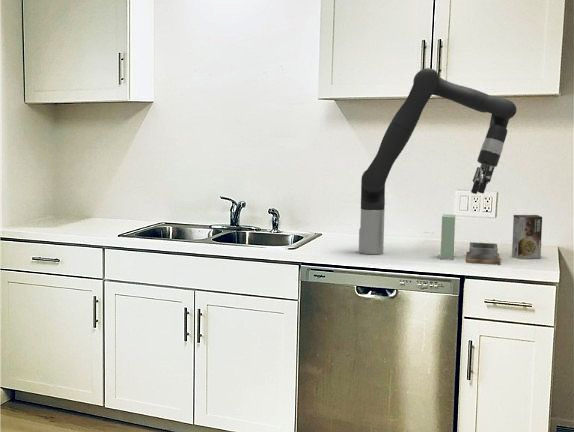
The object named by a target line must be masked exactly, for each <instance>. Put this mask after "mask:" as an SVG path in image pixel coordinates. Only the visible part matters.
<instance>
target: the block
mask: <svg viewBox="0 0 574 432" xmlns="http://www.w3.org/2000/svg"><path fill="white" fill-rule="evenodd" d="M455 230H456V214H450V213H449V214H447V213H445V214H444V213H443V214H442V216H441V231H440V233H441V236H440V237H441V238H440V260H445V259H449V260H448V261H453V260H454V257H453V256H454V254H455Z"/></svg>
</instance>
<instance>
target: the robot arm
mask: <svg viewBox="0 0 574 432" xmlns="http://www.w3.org/2000/svg"><path fill="white" fill-rule="evenodd" d="M432 96H436V97H440V98H444V99H447V100H449V101H451V102H454V103H457V104H459V105H461V106H464V107H467V108H469V109H472V110H474V111H476V112H479V113H483V114H484V113H488V114H491V115H490V116H491V117H490V122H489V127H488V130H487V133H486V135H485V138H484V140H483V143H482V145H481V148H480V152H479V155H478V157H477V163H479V164H480V167H479V166H477V167H476V170H475V173H474V176H473V178H472V182H473V186H472V188H471V189H470V190H471V191H470V193H471V194H474V195H476V194H479V193H480V194H484V193H485V191H486V189H487V185H488V184H489V183H490V182H491V180H492V176H493V173H494V172H495V168H497V167H498V163H499V161H500V159H501V155H502V152H503V149H504V144H505V141H506V138H507V135H508V129H507V128H508V124H509V121H510V119H512V118H514V116H516V113H517V111H518V110H517V106H516V104H515V103H514V102H513V101H511V100H510V99H506V98H503V97H498V96H493V95H489V94H487V93H485V92H483V91H479V90H477V89H474V88H471V87H469V86H468V87H467V86H463V85H460V84H457V83H454V82H451V81H448V80H446V79H445V78H444V79H443V78H442V77H440V75H439V73H438V71H436V70H435V69H433V68H431V67H430V68H429V67H428V68H427V67H425V68H423V69H421V70H419V71H418V72H416V74H415V75H414V78H413V85H412V86H411V88H410V91H409V93H408V96H407V98H406V99H405V101H404V102H403V103H402V105H401V106H400V108H399V109H398V110H397V111H396V113H395V114H394V116H393V117H392V119H391V121H390V123H389V125H388V127H387V129H386V131H385V132H384V135H383V137H382V140H381V143H380V145H379V147H378V151H377V153H376V155H375V157H374V158H373V160H372V161H371V163H370V164H369V166H368V167H367V169H366V170H365V171H364V172H363V173H362V176H361V179H360V180H361V181H360V183H361V184H360V187H361V188H360V190H361V191H360V221H359V222H360V223H359V224H360V226H359V227H360V228H359V230H358V254H364V255H382V254H384V248H385V247H384V244H385V243H384V239H385V237H384V236H385V212H386V211H385V205H386V201H385V200H386V199H385V198H386V197H385V196H386V195H385V193H386V191H385V190H386V183H387V179H388V178H389V177H388V176H389V174H390V172H391V170H392V167H393V165H394V163H395V162H396V160H397V159H398V157H399V156H400V154H401V153H402V151H403V150H404V149H405V147H406V145H407V143H408V142H409V140H410V138H411V136H412V135H413V133H414V131H415V128H416V127H417V125H418V123H419V120H420V118H421V116H422V112H423V110H424V108H425V107H426V105H427V103H428V102H429V100H430V99H431V97H432Z"/></svg>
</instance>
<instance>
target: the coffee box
mask: <svg viewBox="0 0 574 432" xmlns="http://www.w3.org/2000/svg"><path fill="white" fill-rule="evenodd" d="M512 221H513V222H512V223H513V224H512V242H511V243H512V245H511V247H512V249H511V256H512V257H514V258H516V259H541V257H542V232H543V231H542V230H543V216H541V215H538V214H513V220H512Z"/></svg>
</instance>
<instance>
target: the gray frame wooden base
mask: <svg viewBox="0 0 574 432" xmlns="http://www.w3.org/2000/svg"><path fill="white" fill-rule="evenodd" d="M498 248H499V247H498V244H497V243H491V242H472V241H471V242H469V249H468V251H466V253H465V254H466V255H465V263H466V264H482V265H496V264H497V265H498V266H500V265H501V257H500V253H499V251H498V250H499V249H498ZM497 265H496V266H497Z"/></svg>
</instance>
